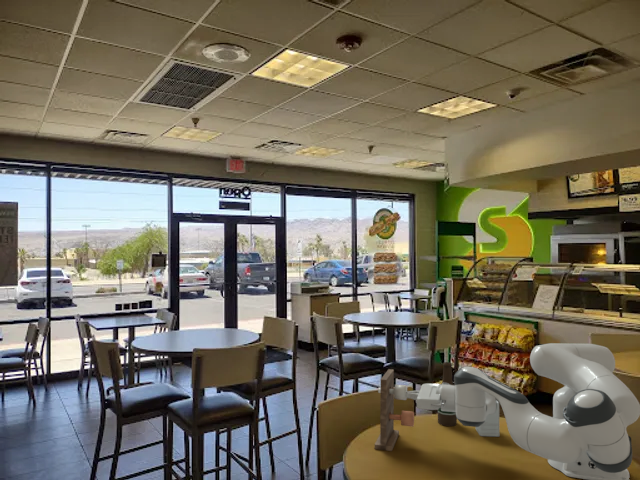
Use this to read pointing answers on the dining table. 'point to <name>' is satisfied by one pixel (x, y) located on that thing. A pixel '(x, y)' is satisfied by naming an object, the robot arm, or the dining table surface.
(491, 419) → the supplement box
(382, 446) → the plug panel
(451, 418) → the beer bottle
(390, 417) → the terracotta plug
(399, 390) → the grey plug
